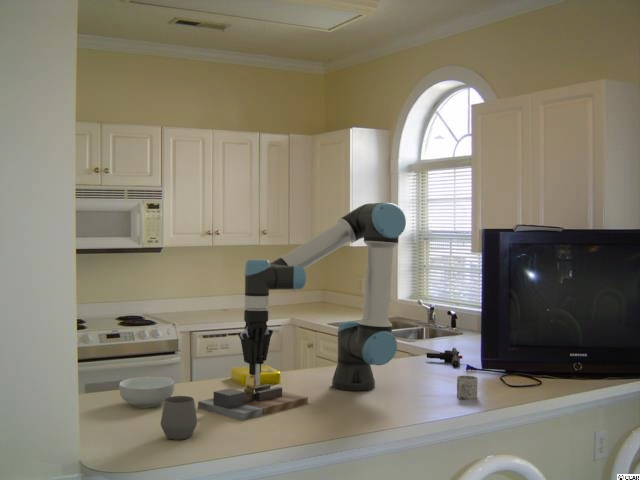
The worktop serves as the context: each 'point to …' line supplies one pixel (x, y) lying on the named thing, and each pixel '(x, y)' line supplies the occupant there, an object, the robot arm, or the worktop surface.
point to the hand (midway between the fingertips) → (254, 384)
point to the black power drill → (447, 356)
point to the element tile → (266, 375)
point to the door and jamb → (256, 406)
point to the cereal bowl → (146, 390)
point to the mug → (467, 387)
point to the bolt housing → (237, 398)
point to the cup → (179, 417)
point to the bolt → (250, 389)
